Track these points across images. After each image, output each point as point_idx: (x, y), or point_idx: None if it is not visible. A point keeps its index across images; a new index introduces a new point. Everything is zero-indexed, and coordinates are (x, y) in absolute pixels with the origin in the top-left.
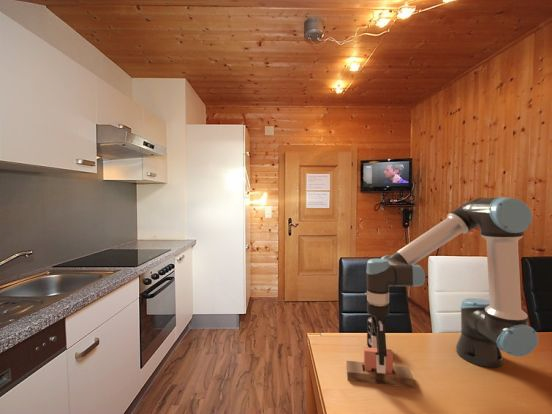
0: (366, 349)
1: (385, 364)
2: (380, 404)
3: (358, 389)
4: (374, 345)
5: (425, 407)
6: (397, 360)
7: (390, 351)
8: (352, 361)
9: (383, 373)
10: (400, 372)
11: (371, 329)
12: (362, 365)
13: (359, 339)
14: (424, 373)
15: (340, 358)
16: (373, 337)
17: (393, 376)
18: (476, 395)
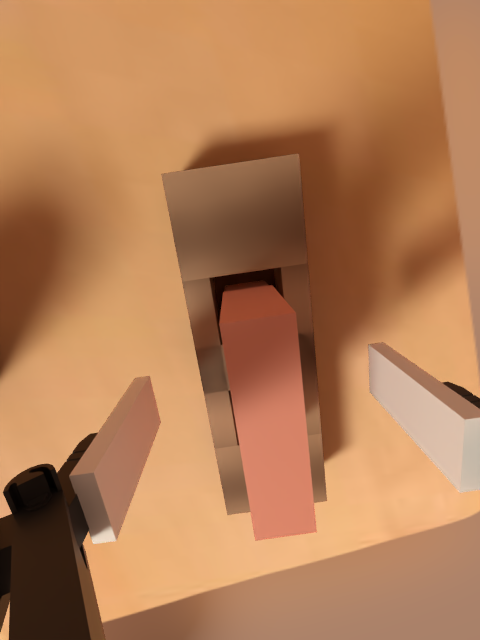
0: (287, 520)
1: (419, 368)
2: (444, 338)
3: (366, 424)
4: (139, 447)
5: (432, 128)
6: (36, 235)
7: (261, 334)
8: (224, 488)
9: None
10: (248, 235)
11: (6, 607)
12: (236, 438)
13: None
14: (114, 70)
15: (155, 512)
16: (114, 518)
17: (304, 281)
18: None
